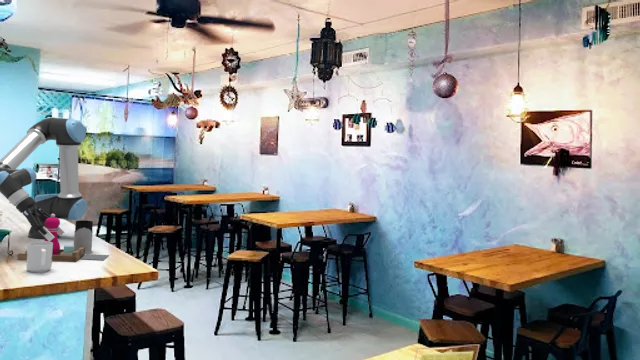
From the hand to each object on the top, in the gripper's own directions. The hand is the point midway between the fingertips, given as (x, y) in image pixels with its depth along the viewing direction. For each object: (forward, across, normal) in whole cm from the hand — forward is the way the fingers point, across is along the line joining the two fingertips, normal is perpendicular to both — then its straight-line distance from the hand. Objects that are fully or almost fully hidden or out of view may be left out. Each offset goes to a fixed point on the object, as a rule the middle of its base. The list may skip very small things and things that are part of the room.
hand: (57, 236), depth 217 cm
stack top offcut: (+8, 0, -1) cm, 9 cm away
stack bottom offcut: (+11, 0, -4) cm, 11 cm away
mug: (+8, +24, -6) cm, 26 cm away
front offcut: (0, 0, -14) cm, 14 cm away
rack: (+6, 0, -8) cm, 10 cm away
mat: (+18, -3, +4) cm, 19 cm away
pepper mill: (+5, 0, -9) cm, 10 cm away
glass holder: (+12, -16, -2) cm, 20 cm away
